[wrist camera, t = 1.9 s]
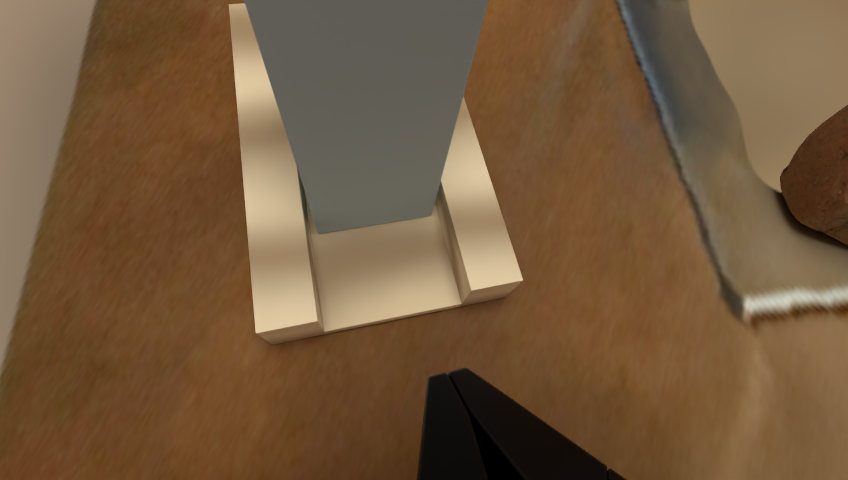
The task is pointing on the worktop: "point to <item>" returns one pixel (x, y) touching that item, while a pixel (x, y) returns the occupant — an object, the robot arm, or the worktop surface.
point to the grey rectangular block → (368, 98)
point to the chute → (358, 230)
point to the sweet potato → (821, 179)
